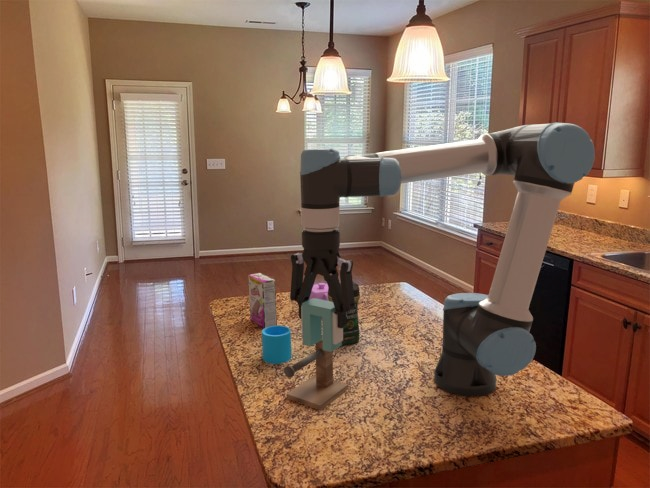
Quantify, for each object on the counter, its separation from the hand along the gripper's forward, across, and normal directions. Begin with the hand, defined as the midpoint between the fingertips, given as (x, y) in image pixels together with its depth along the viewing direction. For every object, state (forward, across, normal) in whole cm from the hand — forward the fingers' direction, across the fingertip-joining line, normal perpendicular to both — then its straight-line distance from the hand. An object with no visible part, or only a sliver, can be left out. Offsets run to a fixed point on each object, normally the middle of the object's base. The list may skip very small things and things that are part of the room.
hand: (322, 337), depth 103 cm
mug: (+21, +33, -24) cm, 46 cm away
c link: (+2, 0, 0) cm, 2 cm away
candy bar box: (+21, +53, -41) cm, 70 cm away
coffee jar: (+21, +22, -43) cm, 53 cm away
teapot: (+21, +44, -63) cm, 80 cm away
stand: (+21, +10, -9) cm, 25 cm away
